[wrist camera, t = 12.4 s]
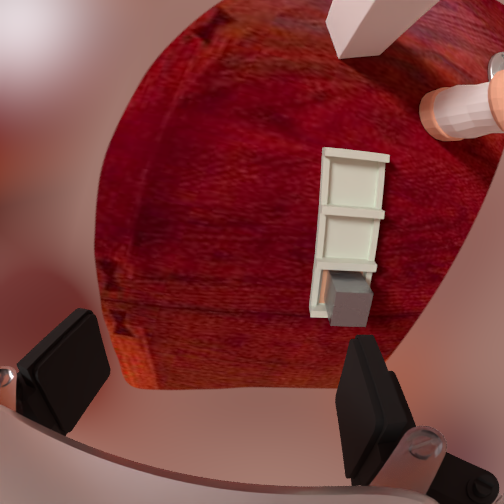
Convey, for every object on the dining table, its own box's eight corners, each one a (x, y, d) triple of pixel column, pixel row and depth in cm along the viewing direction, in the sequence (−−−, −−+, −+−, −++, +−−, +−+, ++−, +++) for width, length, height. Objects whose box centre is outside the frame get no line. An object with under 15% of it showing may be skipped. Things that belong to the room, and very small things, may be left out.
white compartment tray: (381, 154, 35) (389, 154, 32) (361, 308, 42) (366, 318, 39) (322, 147, 35) (325, 147, 33) (309, 306, 42) (310, 317, 40)
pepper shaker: (455, 148, 33) (550, 157, 15) (414, 129, 33) (504, 120, 15) (463, 103, 31) (554, 90, 12) (423, 82, 31) (508, 49, 13)
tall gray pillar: (359, 270, 39) (373, 293, 32) (354, 300, 40) (365, 326, 34) (327, 268, 39) (336, 291, 33) (323, 298, 41) (330, 325, 34)
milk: (365, 19, 29) (427, -70, 8) (379, 56, 30) (462, -16, 10) (324, 22, 30) (358, -81, 9) (337, 60, 31) (393, -27, 11)
